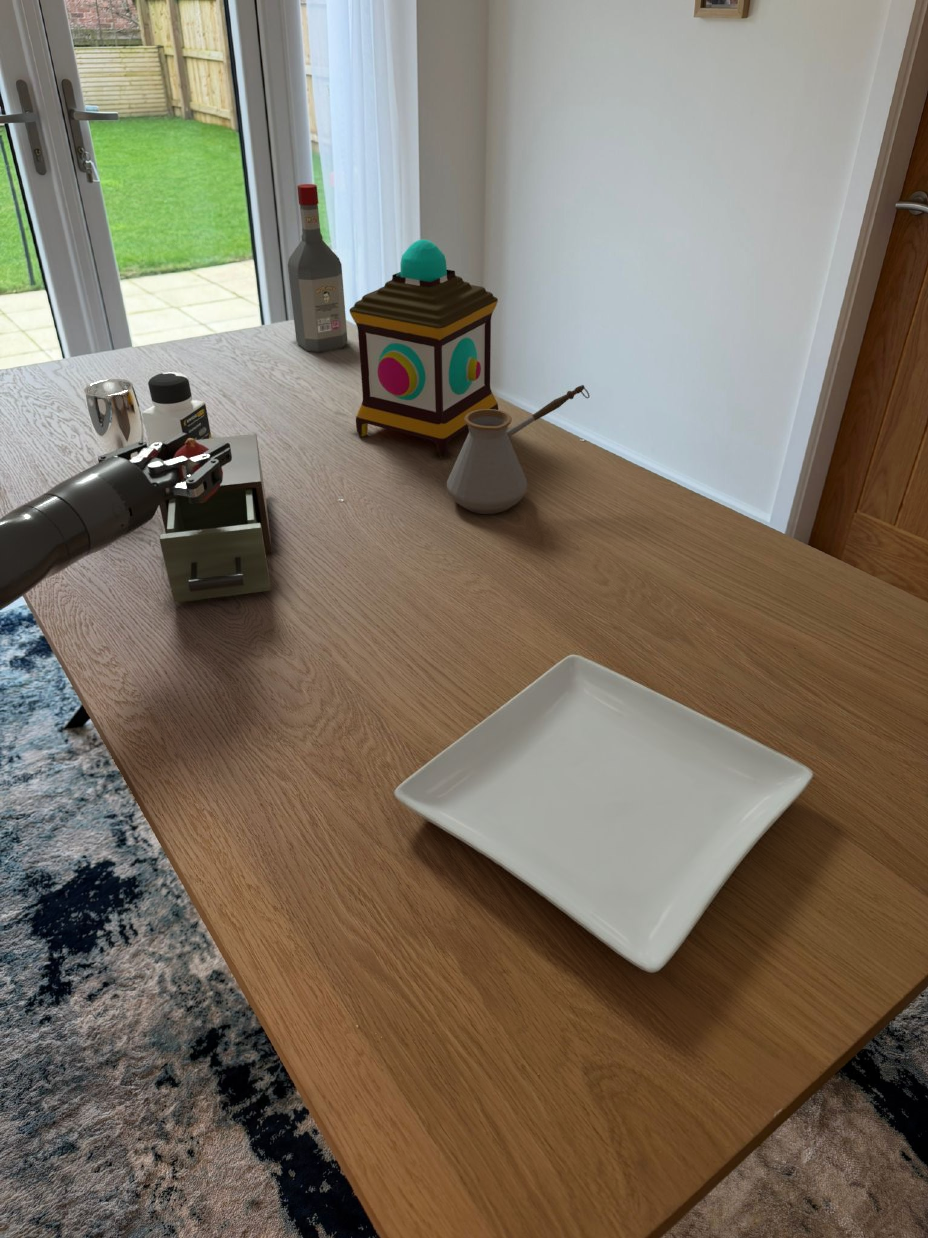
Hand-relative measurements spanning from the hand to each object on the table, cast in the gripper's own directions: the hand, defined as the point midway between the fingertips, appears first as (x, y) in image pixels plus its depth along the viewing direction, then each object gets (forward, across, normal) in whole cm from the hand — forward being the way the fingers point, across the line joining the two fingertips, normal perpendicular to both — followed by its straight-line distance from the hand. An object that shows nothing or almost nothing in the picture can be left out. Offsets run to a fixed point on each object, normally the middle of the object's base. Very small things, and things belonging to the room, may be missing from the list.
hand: (208, 445), depth 103 cm
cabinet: (+8, -8, -18) cm, 21 cm away
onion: (-3, 0, -6) cm, 7 cm away
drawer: (-2, +1, -17) cm, 17 cm away
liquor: (+78, -40, -17) cm, 89 cm away
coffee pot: (+36, +23, -18) cm, 46 cm away
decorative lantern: (+51, 0, -17) cm, 53 cm away
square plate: (-16, +55, -18) cm, 60 cm away
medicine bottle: (+26, -31, -18) cm, 44 cm away
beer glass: (+13, -30, -18) cm, 37 cm away
